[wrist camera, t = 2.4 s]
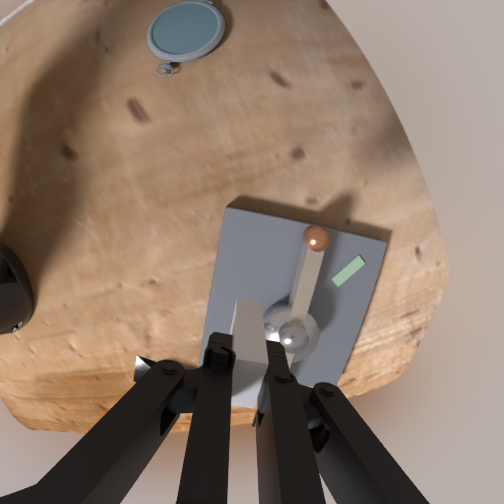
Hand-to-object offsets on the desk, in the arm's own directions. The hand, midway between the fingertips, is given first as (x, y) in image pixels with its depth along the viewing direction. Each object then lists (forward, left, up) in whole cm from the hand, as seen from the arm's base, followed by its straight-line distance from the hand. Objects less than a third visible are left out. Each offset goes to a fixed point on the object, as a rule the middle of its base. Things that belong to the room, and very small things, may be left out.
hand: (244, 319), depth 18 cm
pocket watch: (-13, +27, -18) cm, 35 cm away
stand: (+7, -6, -18) cm, 20 cm away
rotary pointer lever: (+7, -6, -16) cm, 18 cm away
